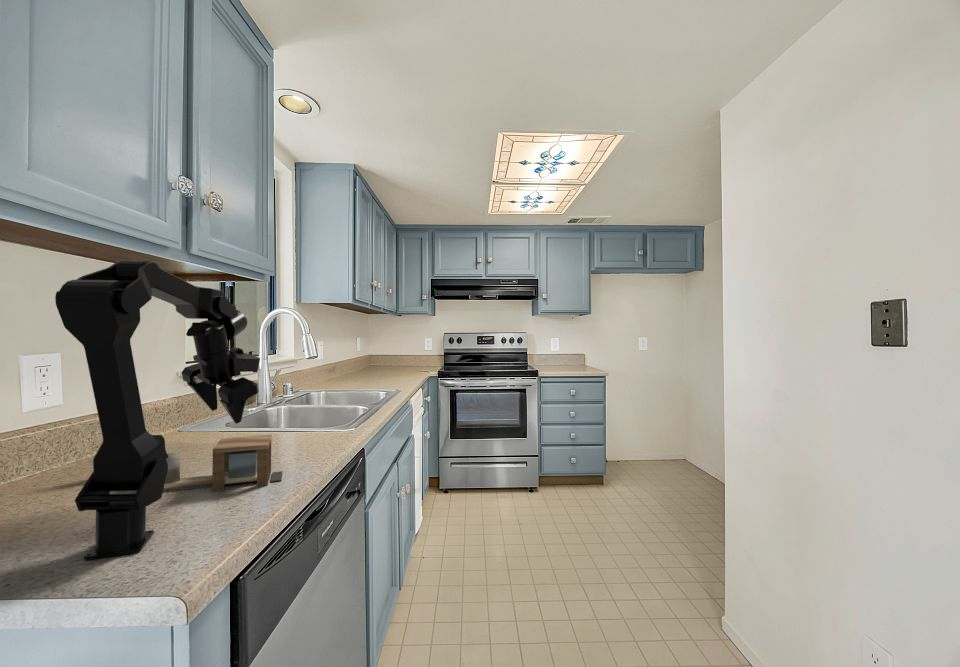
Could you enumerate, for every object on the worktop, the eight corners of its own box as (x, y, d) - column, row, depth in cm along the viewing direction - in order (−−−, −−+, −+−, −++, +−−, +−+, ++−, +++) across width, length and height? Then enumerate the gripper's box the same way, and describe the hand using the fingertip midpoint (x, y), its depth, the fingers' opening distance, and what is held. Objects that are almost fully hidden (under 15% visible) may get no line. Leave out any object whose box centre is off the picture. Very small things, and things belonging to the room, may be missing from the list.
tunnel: (267, 485, 89) (268, 444, 89) (212, 491, 86) (212, 449, 86) (271, 471, 99) (271, 434, 99) (221, 476, 95) (221, 438, 95)
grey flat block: (281, 481, 92) (281, 479, 92) (270, 482, 91) (270, 480, 91) (282, 472, 98) (282, 471, 98) (272, 473, 97) (272, 472, 97)
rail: (269, 479, 93) (269, 477, 93) (81, 500, 81) (81, 496, 81) (269, 476, 95) (269, 473, 95) (87, 495, 83) (87, 492, 83)
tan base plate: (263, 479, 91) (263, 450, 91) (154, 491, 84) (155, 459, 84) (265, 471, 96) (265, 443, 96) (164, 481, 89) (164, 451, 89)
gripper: (276, 348, 89) (286, 413, 95) (226, 329, 98) (237, 390, 104) (223, 365, 80) (236, 436, 86) (173, 344, 89) (188, 409, 95)
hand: (226, 416), depth 93 cm, fingers open, 9 cm apart
